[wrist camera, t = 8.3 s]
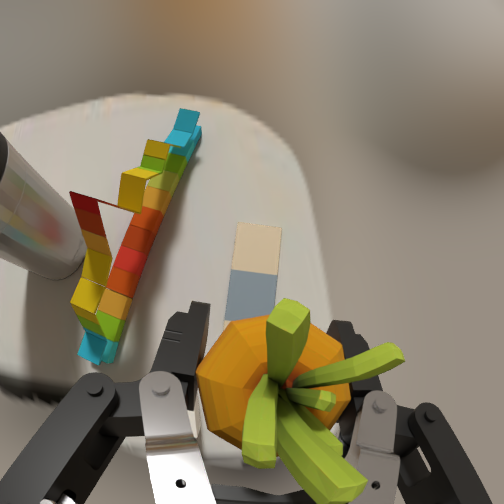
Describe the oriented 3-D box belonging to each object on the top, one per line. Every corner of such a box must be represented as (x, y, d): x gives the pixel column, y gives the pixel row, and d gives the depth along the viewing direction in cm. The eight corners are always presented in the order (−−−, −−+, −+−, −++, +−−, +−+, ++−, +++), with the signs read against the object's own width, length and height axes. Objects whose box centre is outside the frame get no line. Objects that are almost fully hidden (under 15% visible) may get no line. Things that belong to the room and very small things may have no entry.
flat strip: (218, 371, 29) (218, 371, 29) (237, 222, 34) (237, 221, 34) (265, 376, 29) (266, 376, 29) (281, 228, 34) (281, 227, 34)
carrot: (219, 313, 19) (200, 245, 4) (294, 330, 19) (467, 306, 4) (202, 387, 17) (143, 528, 3) (278, 402, 17) (402, 535, 3)
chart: (180, 130, 37) (165, 43, 23) (202, 135, 37) (194, 46, 23) (90, 351, 29) (7, 353, 14) (113, 362, 29) (37, 374, 14)
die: (164, 425, 27) (156, 436, 23) (160, 391, 28) (151, 399, 24) (200, 426, 27) (197, 438, 24) (197, 392, 29) (193, 399, 25)
